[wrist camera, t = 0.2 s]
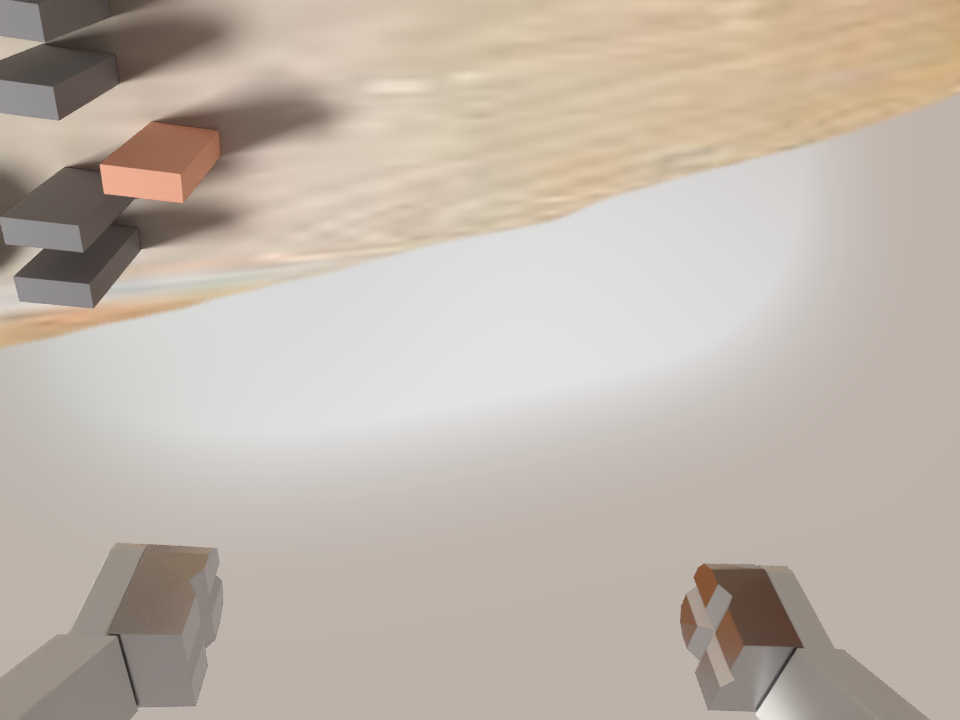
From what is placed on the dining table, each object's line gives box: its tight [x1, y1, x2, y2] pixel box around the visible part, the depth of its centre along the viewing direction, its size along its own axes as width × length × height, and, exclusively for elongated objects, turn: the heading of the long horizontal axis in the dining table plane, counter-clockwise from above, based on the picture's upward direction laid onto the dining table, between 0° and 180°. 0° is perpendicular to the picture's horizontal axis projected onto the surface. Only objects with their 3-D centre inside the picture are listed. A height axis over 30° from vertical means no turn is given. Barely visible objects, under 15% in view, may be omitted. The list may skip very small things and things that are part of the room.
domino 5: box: [100, 122, 221, 203], centre depth 49 cm, size 2×5×10 cm, turn 81°
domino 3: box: [0, 167, 134, 252], centre depth 51 cm, size 2×5×10 cm, turn 81°
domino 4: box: [14, 225, 141, 308], centre depth 53 cm, size 2×5×10 cm, turn 81°
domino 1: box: [0, 0, 111, 42], centre depth 43 cm, size 2×5×10 cm, turn 81°
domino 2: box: [0, 44, 119, 120], centre depth 46 cm, size 2×5×10 cm, turn 81°
